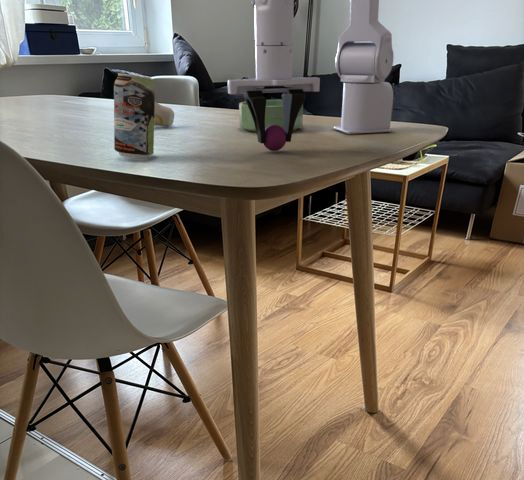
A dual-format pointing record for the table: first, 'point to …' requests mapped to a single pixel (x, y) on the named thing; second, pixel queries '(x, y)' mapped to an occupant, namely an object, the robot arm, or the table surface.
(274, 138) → the ball
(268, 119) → the bowl
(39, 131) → the table surface
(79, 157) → the table surface
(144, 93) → the tall printed two-tone box
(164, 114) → the mug
